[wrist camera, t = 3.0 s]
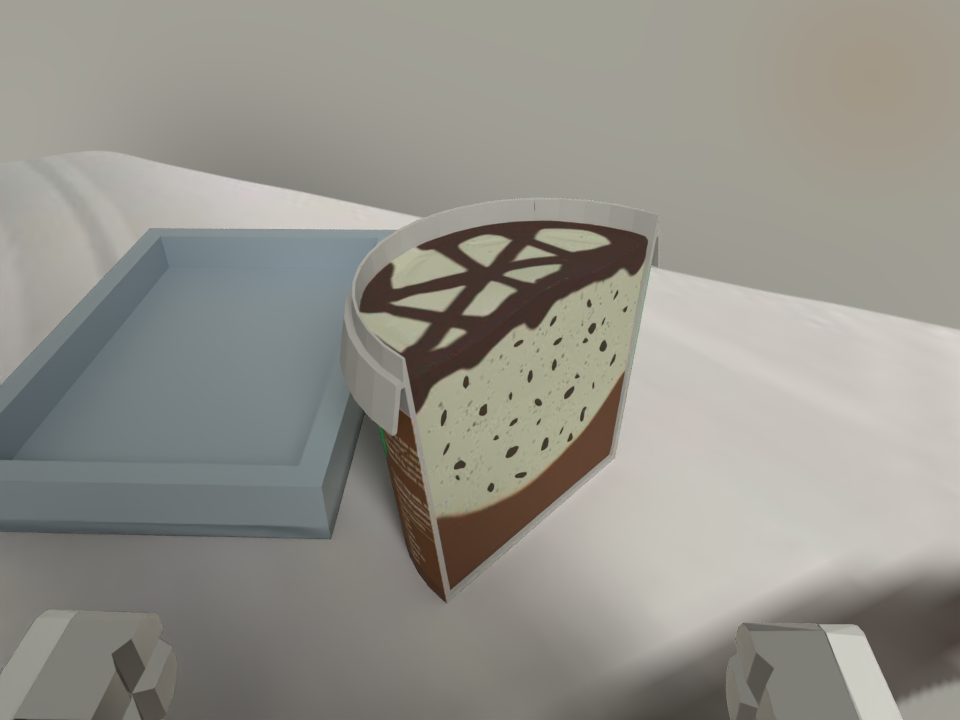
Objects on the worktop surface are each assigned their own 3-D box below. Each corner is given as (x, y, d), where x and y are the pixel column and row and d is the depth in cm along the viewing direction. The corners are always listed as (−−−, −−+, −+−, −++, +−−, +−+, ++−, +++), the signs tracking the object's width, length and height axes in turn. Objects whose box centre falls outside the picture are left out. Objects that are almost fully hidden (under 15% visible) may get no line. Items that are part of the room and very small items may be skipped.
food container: (521, 379, 34) (526, 165, 28) (636, 439, 30) (668, 209, 25) (294, 531, 27) (240, 283, 21) (412, 633, 23) (385, 369, 17)
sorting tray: (-57, 529, 27) (-88, 478, 25) (161, 268, 43) (149, 228, 42) (330, 538, 26) (321, 487, 25) (402, 270, 43) (399, 230, 41)
